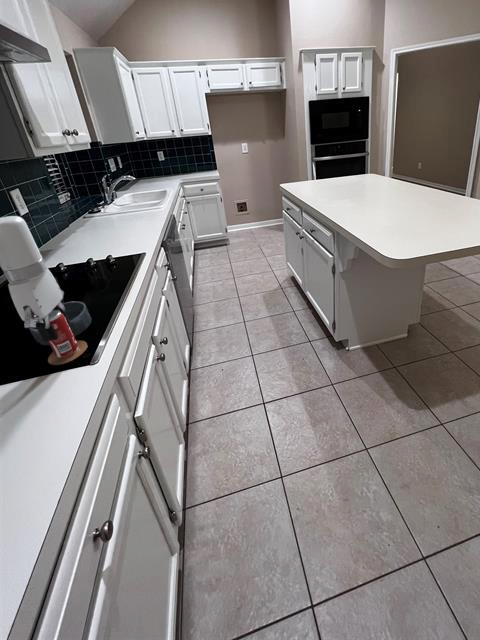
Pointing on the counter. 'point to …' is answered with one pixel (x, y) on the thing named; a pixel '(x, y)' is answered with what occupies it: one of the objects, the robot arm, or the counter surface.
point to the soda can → (61, 335)
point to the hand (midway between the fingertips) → (57, 331)
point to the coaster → (59, 361)
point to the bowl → (77, 319)
